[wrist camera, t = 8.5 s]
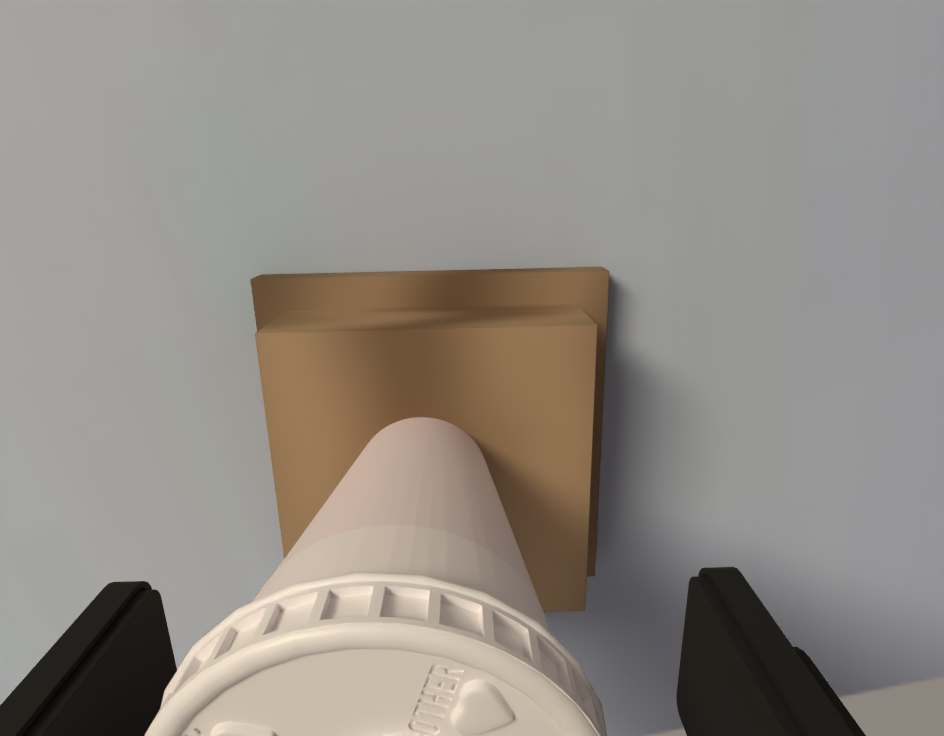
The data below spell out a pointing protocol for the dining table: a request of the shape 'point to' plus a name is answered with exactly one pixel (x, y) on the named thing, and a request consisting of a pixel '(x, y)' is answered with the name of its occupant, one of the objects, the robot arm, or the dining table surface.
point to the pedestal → (446, 392)
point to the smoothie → (391, 617)
